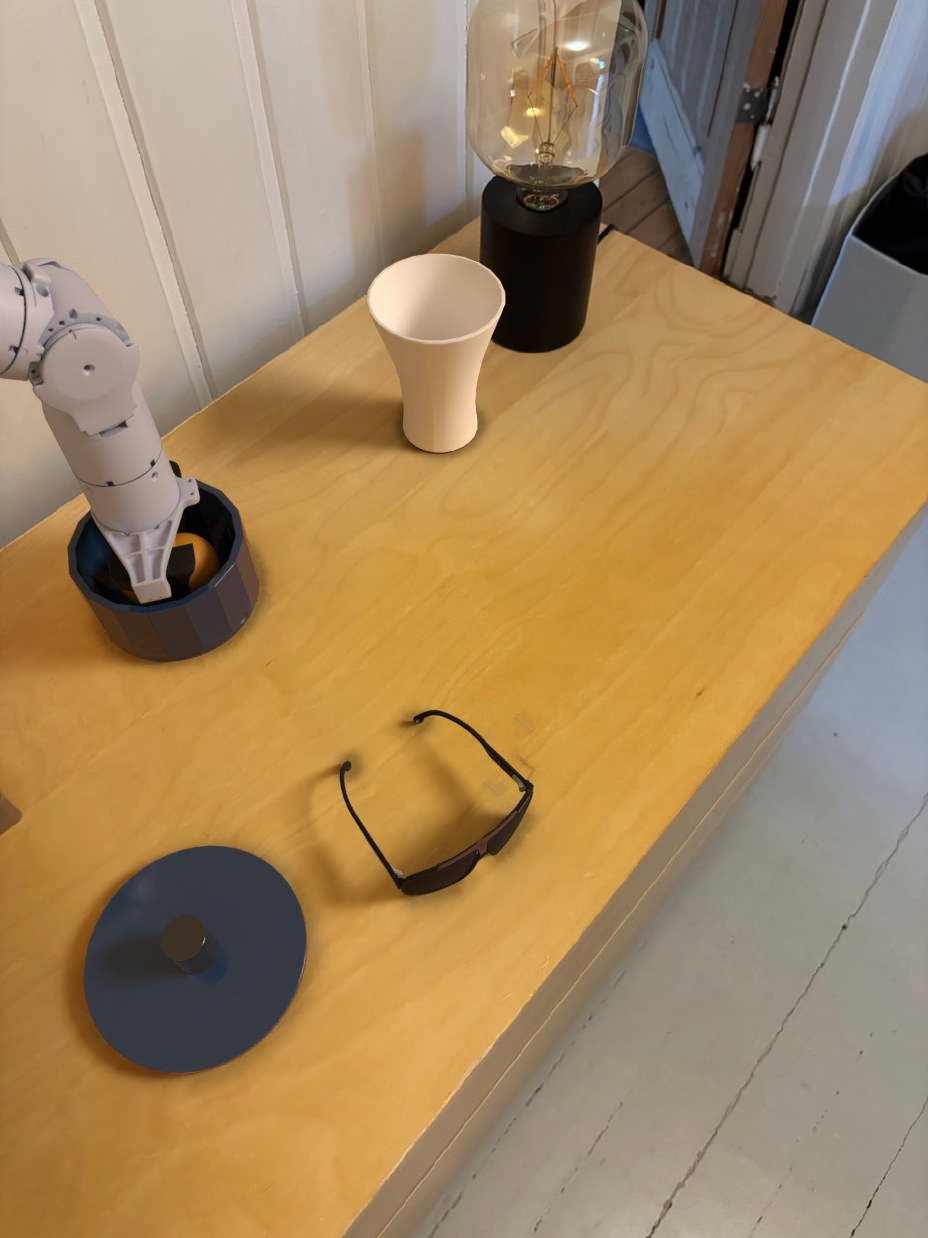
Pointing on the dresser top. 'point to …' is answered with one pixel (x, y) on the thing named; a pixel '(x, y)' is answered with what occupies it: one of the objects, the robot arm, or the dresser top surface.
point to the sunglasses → (468, 858)
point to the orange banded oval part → (204, 565)
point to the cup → (437, 341)
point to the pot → (180, 622)
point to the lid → (195, 959)
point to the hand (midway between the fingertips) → (172, 579)
